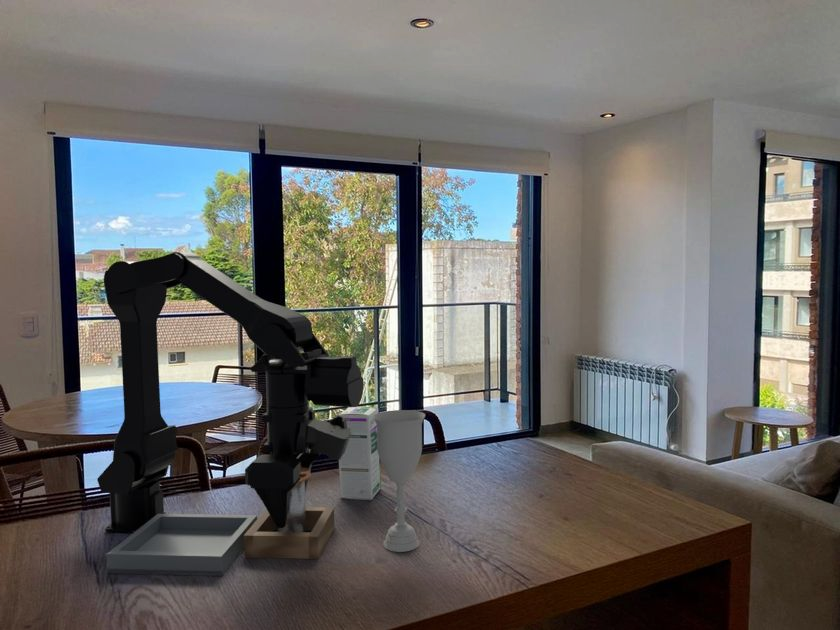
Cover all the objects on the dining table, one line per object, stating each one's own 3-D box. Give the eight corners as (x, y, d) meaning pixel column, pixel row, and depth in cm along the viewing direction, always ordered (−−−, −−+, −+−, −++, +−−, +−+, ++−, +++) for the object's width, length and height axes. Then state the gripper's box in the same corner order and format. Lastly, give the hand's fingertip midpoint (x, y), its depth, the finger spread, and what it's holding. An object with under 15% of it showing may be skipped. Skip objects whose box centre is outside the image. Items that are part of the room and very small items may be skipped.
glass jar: (266, 550, 82) (263, 478, 82) (278, 532, 88) (276, 465, 87) (306, 551, 82) (304, 479, 81) (316, 533, 88) (314, 465, 87)
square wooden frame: (244, 557, 80) (243, 535, 80) (268, 526, 90) (268, 506, 90) (318, 558, 80) (317, 536, 80) (334, 527, 90) (334, 507, 89)
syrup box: (372, 500, 100) (370, 414, 99) (338, 498, 101) (336, 413, 100) (381, 488, 106) (380, 406, 105) (349, 486, 107) (347, 405, 106)
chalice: (387, 559, 79) (385, 424, 78) (367, 539, 85) (365, 414, 84) (436, 547, 83) (434, 417, 81) (413, 529, 89) (411, 408, 87)
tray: (107, 573, 77) (106, 554, 76) (158, 530, 90) (158, 513, 89) (222, 575, 76) (221, 556, 75) (257, 531, 88) (257, 515, 88)
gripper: (330, 420, 74) (333, 544, 75) (357, 390, 92) (359, 490, 94) (241, 420, 75) (245, 542, 76) (285, 390, 93) (288, 489, 94)
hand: (291, 513), depth 85 cm, fingers open, 9 cm apart
